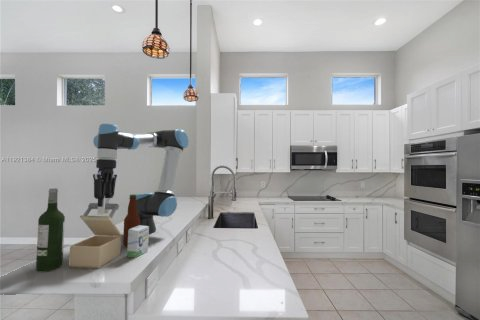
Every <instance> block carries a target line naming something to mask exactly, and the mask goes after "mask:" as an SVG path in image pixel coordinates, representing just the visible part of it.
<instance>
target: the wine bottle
mask: <svg viewBox="0 0 480 320" xmlns="http://www.w3.org/2000/svg"><path fill="white" fill-rule="evenodd" d="M58 192H59V190H58V188H49V189H48V199H47V208H46V210H45V211H44V212H43V213H41V215H40V216H39V217H38V220H37V223H38V224H37V225H38V226H37V241H36V258H35V259H36V260H35V270H37V271H36V272H39V271H46V272H51V271H55V270H56V269H60V268H61V267H62V266H63V263H64V245H65V244H64V242H65V220H66V219H65V214H64V213H63V212H61V211H60V210H59V209H58Z"/></svg>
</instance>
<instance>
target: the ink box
mask: <svg viewBox="0 0 480 320" xmlns="http://www.w3.org/2000/svg"><path fill="white" fill-rule="evenodd" d="M149 235H150V234H149V226H143V225H139V226H136V227H134V228H131V229H129V230H128V247H126V249H127V250H126V257H127V258H136V259H137V258H138V257H140V256H141V255H143V254H145V253H146V252H148V251H149Z"/></svg>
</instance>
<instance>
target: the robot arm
mask: <svg viewBox="0 0 480 320" xmlns="http://www.w3.org/2000/svg"><path fill="white" fill-rule="evenodd" d="M92 143H93V146H94V147H96V150H97V152H96V158H97V159H96V162H95V164H96V165H95V166H96V167H95V168H97V169H98V170H97V173H93V174H92V177H93V197H94V199H96V200H97V203H98V209H96V210H97V213H96V215H99V216H104V215H105V214H110V209H105V203H109V204H111V199H113V197H114V196H115V189H116V182H117V177H118V174H115V173H114V169H116V168H117V160H116V159H117V157H118V150H128V151H130V150H132V151H133V150H136V149H138V147H139V148H141V147H148V148H159V149H160V148H161V149H164V151H165V154H164V159H163V162H162V163H163V164H162V168H161V173H160V177H159V182H158V188H157V190H155V191H154V192H146V193H138V194H137V193H136V194H135V195H137V196H136V198H137V199H136V203H137V214H138V216H139V217H140V225H143V226H149V235H150V234H154V233H155V232H156V231H157V226H156V222H155V220H154V216H155V217H161V218H163V217H167V218H168V217H170V216H172V215H173V214H174V213H175V212H176V210H177V206H178V201H177V198H176V197H175V193H174V187H175V181H176V176H177V172H178V166H179V160H180V157H181V155H182V153H184V149H186V148H187V147H188V146H189V143H190V140H189V136H188V134H187V132H186V131H185V130H184V129H177V128H176V129H166V130H164V129H163V130H159V131H157V130H156V131H149V132H146V133H129V132H123V131H120V130H119V126H118V125H117V124H113V123H101V124H99V127H98V133H97V134H96V135H95V136H94V137H93V142H92Z"/></svg>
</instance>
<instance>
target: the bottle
mask: <svg viewBox="0 0 480 320" xmlns="http://www.w3.org/2000/svg"><path fill="white" fill-rule="evenodd" d="M136 196H137V195H136V194H129V198H128V199H129V202H128V205H127V214H126V216H125V217H124V219H123V234H122V236H123V237H122V240H123V241H122V245H123V247H124V248H127V247H128V230H129V229H131V228H134V227H136V226H139V225H140V217H139V216H138V214H137V203H136V199H137V198H136Z"/></svg>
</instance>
